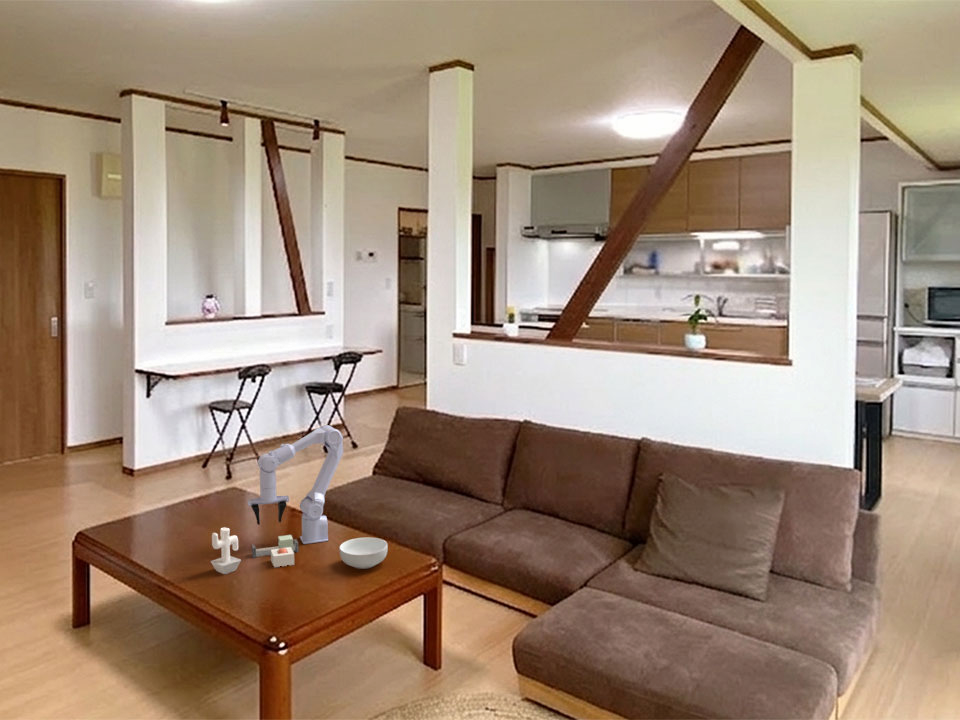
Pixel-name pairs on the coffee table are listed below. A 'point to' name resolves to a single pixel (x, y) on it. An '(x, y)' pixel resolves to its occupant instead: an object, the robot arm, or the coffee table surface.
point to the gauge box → (282, 557)
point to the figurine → (225, 551)
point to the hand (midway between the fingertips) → (269, 522)
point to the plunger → (282, 551)
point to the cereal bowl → (363, 552)
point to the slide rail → (268, 550)
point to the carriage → (285, 541)
